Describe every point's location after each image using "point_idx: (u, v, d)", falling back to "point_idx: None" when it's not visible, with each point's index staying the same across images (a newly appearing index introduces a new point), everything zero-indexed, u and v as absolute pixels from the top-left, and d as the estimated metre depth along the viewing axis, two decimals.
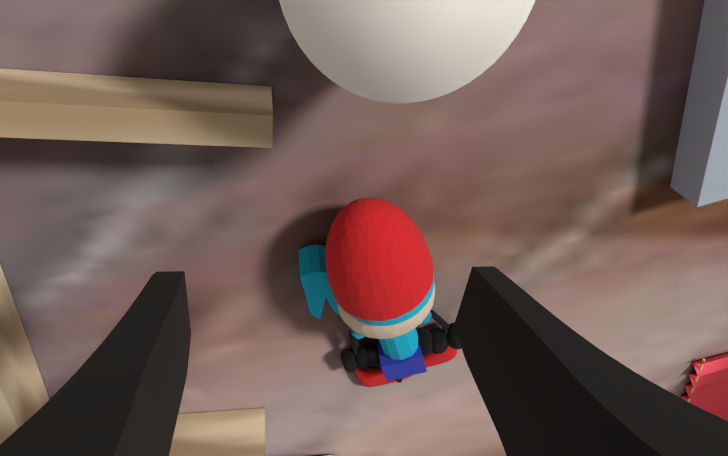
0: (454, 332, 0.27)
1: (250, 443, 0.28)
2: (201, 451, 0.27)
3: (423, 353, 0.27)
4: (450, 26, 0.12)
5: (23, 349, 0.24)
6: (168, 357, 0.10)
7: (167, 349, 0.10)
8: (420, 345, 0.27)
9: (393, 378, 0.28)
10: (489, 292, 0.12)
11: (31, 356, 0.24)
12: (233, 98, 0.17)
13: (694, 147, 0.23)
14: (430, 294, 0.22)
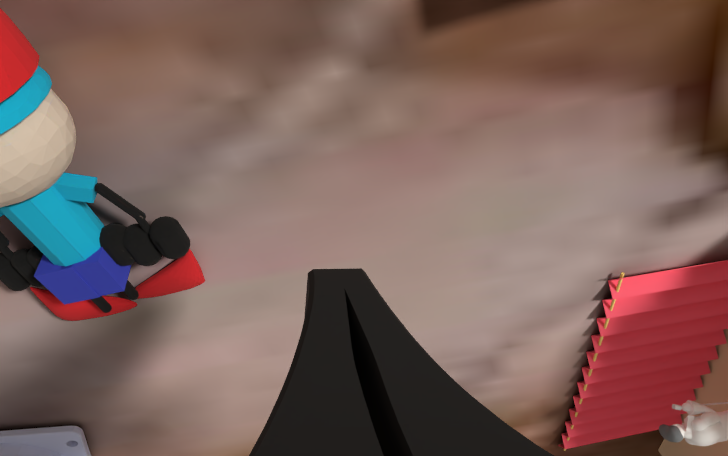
0: (155, 228, 0.17)
1: None
2: None
3: (116, 262, 0.18)
4: None
5: None
6: None
7: None
8: (101, 246, 0.17)
9: (72, 299, 0.18)
10: None
11: None
12: None
13: None
14: (14, 120, 0.13)
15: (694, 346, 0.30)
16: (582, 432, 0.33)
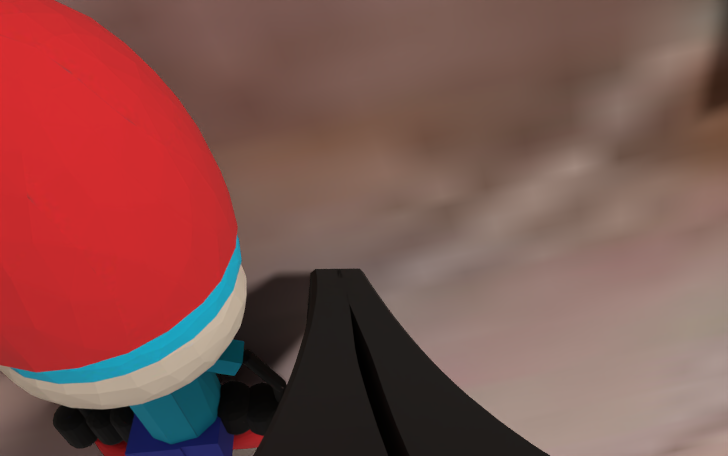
0: None
1: None
2: None
3: (229, 431, 0.14)
4: None
5: None
6: None
7: None
8: (220, 417, 0.13)
9: None
10: None
11: None
12: None
13: None
14: (209, 316, 0.09)
15: None
16: None
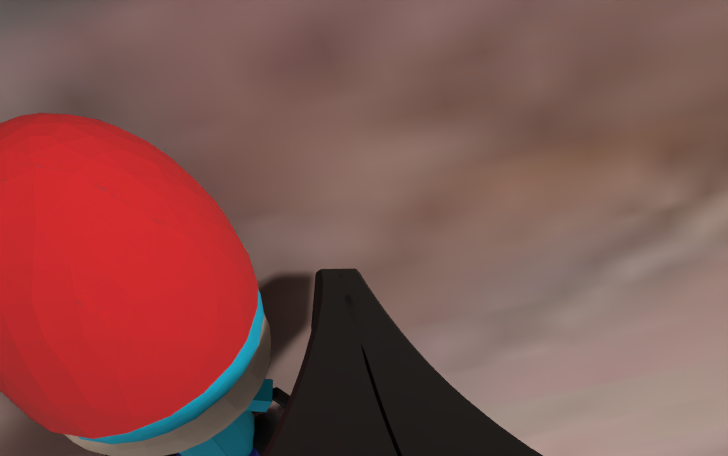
0: None
1: None
2: None
3: None
4: None
5: None
6: None
7: None
8: (256, 448, 0.14)
9: None
10: None
11: None
12: None
13: None
14: (238, 372, 0.09)
15: None
16: None
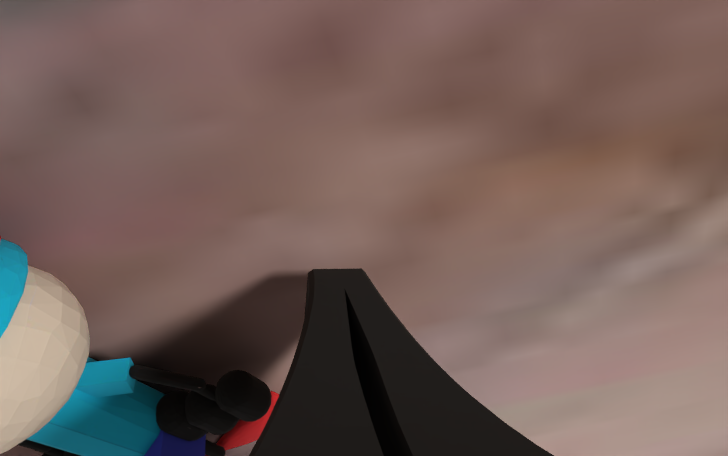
0: (222, 395, 0.13)
1: None
2: None
3: (185, 439, 0.14)
4: None
5: None
6: None
7: None
8: (161, 430, 0.13)
9: None
10: None
11: None
12: None
13: None
14: None
15: None
16: None
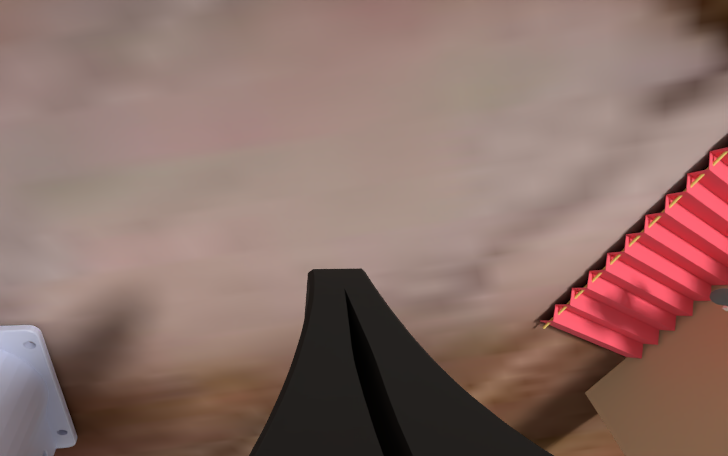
0: None
1: None
2: None
3: None
4: None
5: None
6: None
7: None
8: None
9: None
10: None
11: None
12: None
13: None
14: None
15: None
16: (581, 307, 0.29)
